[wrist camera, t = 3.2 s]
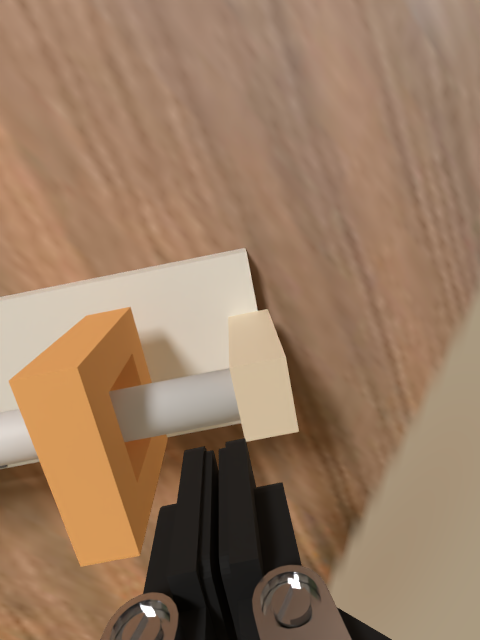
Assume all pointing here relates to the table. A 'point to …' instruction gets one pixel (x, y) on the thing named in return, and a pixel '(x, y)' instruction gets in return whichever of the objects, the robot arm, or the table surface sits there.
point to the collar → (92, 435)
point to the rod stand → (162, 351)
